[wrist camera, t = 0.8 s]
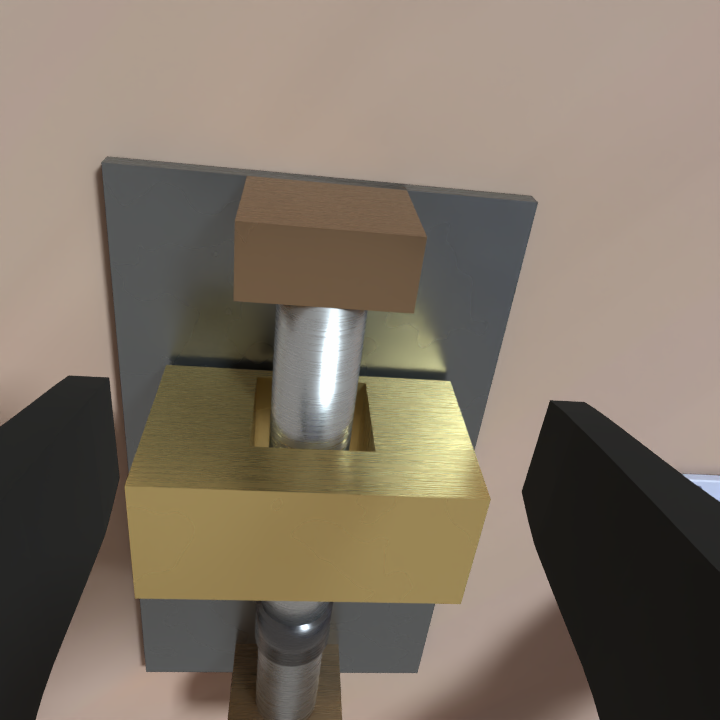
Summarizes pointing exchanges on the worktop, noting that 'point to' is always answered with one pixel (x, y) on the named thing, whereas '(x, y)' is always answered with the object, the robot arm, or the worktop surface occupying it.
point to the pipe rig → (302, 366)
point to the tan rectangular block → (302, 496)
